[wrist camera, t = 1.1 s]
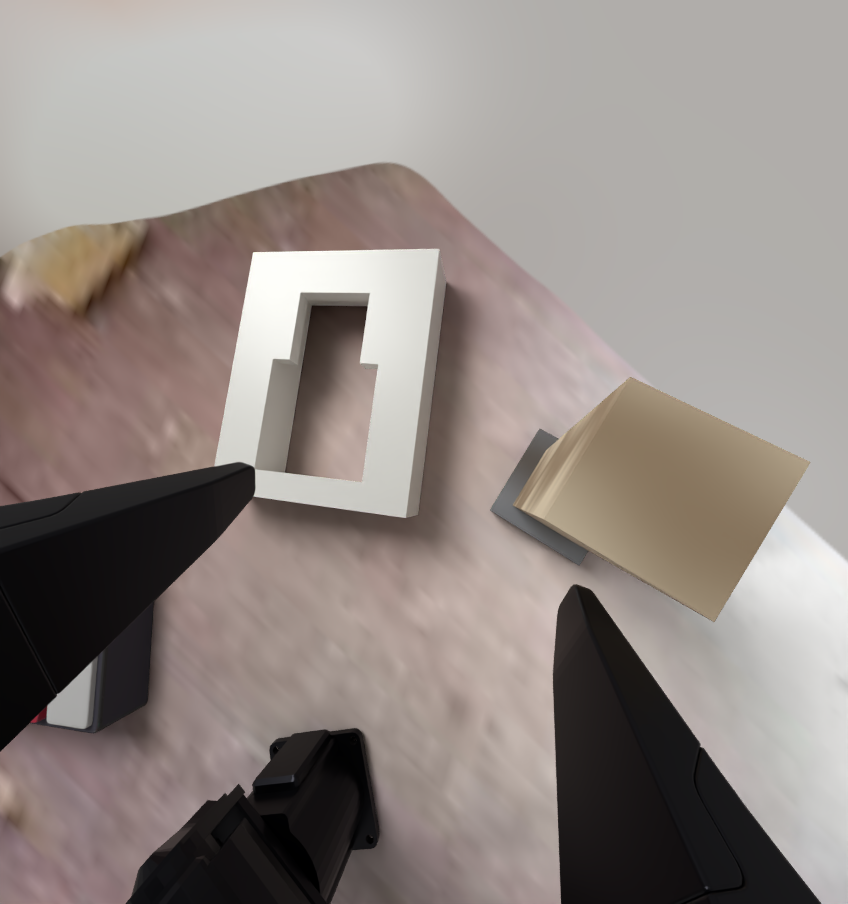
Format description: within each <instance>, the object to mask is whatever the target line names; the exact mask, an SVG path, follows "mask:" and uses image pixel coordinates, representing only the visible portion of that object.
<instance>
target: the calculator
mask: <svg viewBox="0 0 848 904" xmlns="http://www.w3.org/2000/svg"><path fill="white" fill-rule="evenodd" d="M153 605H154V602H153V603H152V604H151V605H150V606H149V607H148V608H147V609H146V610H145V611H144V612H142V613H141V614H140V615H139V616H138V617H137V618H136V619H135V620H134V621H133V622H132V623H131V624H130V625H129V626H128V627H127V628H126V629H125V630H124V631H123V632H122V633H121V634H120V635H119V636H118V637H117V638H116V639H115V640H114V641H113V642H112V643H111V644H110V645H109V646H108V647H107V648H106V649H105V650H104V651H103V652H102V653H100V654H99V655H98V656H97V657H96V658H95V659H94V660H93V661H92V662H91V663H90V664H89V665H88V666H87V667H86V668H85V669H84V670H83V671H82V672H81V673H80V674H79V675H78V676H77V677H76V678H75V679H74V680H73V681H72V682H71V683H70V684H69V685H68V686H67V687H66V688H65V689H64V690H63V691H62V692H61V693H59V694H57V697H56V698H55V699H54V700H53V701H52V702H51V703H50V704H49V705H48V706H47V707H45V708H44V709H43V710H42V711H41V712H40V713H39V714H38V715H37V716H36V717H35V718H34V719H33V720H32V721H31V722H30V723H32V724H38V725H45V726H51V727H57V728H63V729H69V730H75V731H82V732H88V733H96V732H98V731H100V730H102V729H104V728H105V727H107V726H109V725H111V724H112V723H114V722H116V721H118V720H119V719H121V718H123V717H125V716H126V715H128V714H130V713H132V712H133V711H135V710H137V709H139V708H140V707H142V706H144V705H145V704H146V703H147V699H148V684H149V669H150V653H151V637H152V621H153Z"/></svg>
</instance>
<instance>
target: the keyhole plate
mask: <svg viewBox="0 0 848 904" xmlns="http://www.w3.org/2000/svg"><path fill="white" fill-rule="evenodd" d="M445 289H446V277H445V272H444V268H443V263H442V259H441V254H440V249H406V250H354V251H302V252H253V257H252V263H251V268H250V274H249V279H248V285H247V290H246V296H245V301H244V307H243V312H242V318H241V323H240V329H239V334H238V340H237V345H236V351H235V356H234V362H233V367H232V373H231V378H230V384H229V389H228V395H227V400H226V406H225V411H224V417H223V422H222V428H221V433H220V439H219V444H218V450H217V455H216V461H215V466H220V465H225V464H230V463H235V462H243V463H246V464H249V465H251V466H253V467H254V469H255V486H256V489H255V494H254V496H253V497H260V498H268V499H275V500H282V501H289V502H296V503H303V504H310V505H317V506H324V507H331V508H338V509H346V510H353V511H360V512H367V513H374V514H381V515H388V516H395V517H402V518H408V517H412V516H416V515H418V512H419V504H420V496H421V487H422V479H423V471H424V463H425V454H426V446H427V438H428V430H429V421H430V413H431V405H432V397H433V388H434V380H435V372H436V364H437V355H438V347H439V339H440V331H441V322H442V314H443V306H444V298H445ZM312 305H317V306H368V310H367V317H366V324H365V331H364V337H363V344H362V351H361V358H360V364H361V365H362V366H363V367H364V368H365V369H378V370H377V378H376V385H375V392H374V399H373V406H372V414H371V421H370V428H369V435H368V443H367V450H366V457H365V464H364V471H363V479H362V482H357V481H349V480H341V479H332V478H324V477H316V476H308V475H300V474H292V473H285V469H286V463H287V457H288V451H289V444H290V438H291V432H292V426H293V419H294V413H295V407H296V401H297V395H298V388H299V382H300V376H301V370H302V364H303V357H304V351H305V345H306V339H307V333H308V326H309V320H310V314H311V308H312Z"/></svg>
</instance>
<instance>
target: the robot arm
mask: <svg viewBox="0 0 848 904" xmlns="http://www.w3.org/2000/svg"><path fill="white" fill-rule="evenodd" d="M255 489H256V486H255V469H254V467H253V466H251V465H249V464H246V463H243V462H235V463H230V464H225V465H220V466H214V467H209V468H204V469H199V470H193V471H188V472H183V473H178V474H173V475H167V476H162V477H157V478H152V479H147V480H141V481H136V482H131V483H126V484H120V485H115V486H110V487H105V488H100V489H94V490H89V491H84V492H82V493H80V492H78V493H73V494H68V495H63V496H58V497H52V498H46V499H41V500H35V501H30V502H24V503H17V504H11V505H5V506H0V751H1V750H2V749H3V748H4V747H5V746H7V745H8V744H9V743H10V742H11V741H12V740H13V739H14V738H15V737H16V736H17V735H18V734H19V733H20V732H21V731H22V730H23V729H24V728H25V727H26V726H27V725H28V724H29V723H30V722H31V721H32V720H33V719H34V718H35V717H36V716H37V715H38V714H39V713H40V712H41V711H42V710H43V709H44V708H45V707H47V706H48V705H49V704H50V703H51V702H52V701H53V700H54V699H55V698H56V697H57V694H59V693H61V692H62V691H63V690H64V689H65V688H66V687H67V686H68V685H69V684H70V683H71V682H72V681H73V680H74V679H75V678H76V677H77V676H78V675H79V674H80V673H81V672H82V671H83V670H84V669H85V668H86V667H87V666H88V665H89V664H90V663H91V662H92V661H93V660H94V659H95V658H96V657H97V656H98V655H99V654H100V653H102V652H103V651H104V650H105V649H106V648H107V647H108V646H109V645H110V644H111V643H112V642H113V641H114V640H115V639H116V638H117V637H118V636H119V635H120V634H121V633H122V632H123V631H124V630H125V629H126V628H127V627H128V626H129V625H130V624H131V623H132V622H133V621H134V620H135V619H136V618H137V617H138V616H139V615H140V614H141V613H142V612H144V611H145V610H146V609H147V608H148V607H149V606H150V605H151V604H152V603H153V602H154V601H155V600H156V599H157V598H158V597H159V596H160V595H161V594H162V593H163V592H164V591H165V590H166V589H167V588H168V587H169V586H170V585H171V584H172V583H173V582H174V581H175V580H176V579H177V578H178V577H179V576H180V575H181V574H182V573H183V572H185V571H186V570H187V569H188V568H189V567H190V566H191V565H192V564H193V563H194V562H195V561H196V560H197V559H198V558H199V557H200V556H201V555H202V554H203V553H204V552H205V551H206V550H207V549H208V548H209V547H210V546H211V545H212V544H213V543H214V542H215V541H216V540H217V539H218V538H219V537H220V536H221V535H222V533H223V532H224V531H225V530H226V529H227V528H228V526H229V525H230V524H231V523H232V522H233V520H234V519H235V518H236V517H237V516H238V514H239V513H240V512H241V511H242V510H243V509H244V507H245V506H246V505H247V504H248V503H249V501H250V500H251V499H252V498H253V496H254V494H255ZM553 696H554V723H555V750H556V777H557V804H558V831H559V859H560V886H561V904H821V902H820V901H819V900H818V899H817V897H816V896H815V895H814V894H813V892H812V891H811V890H810V888H809V887H808V886H807V885H806V883H805V882H804V881H803V880H802V878H801V877H800V876H799V874H798V873H797V872H796V871H795V869H794V868H793V867H792V866H791V864H790V863H789V862H788V860H787V859H786V858H785V857H784V855H783V854H782V853H781V852H780V850H779V849H778V848H777V846H776V845H775V844H774V843H773V841H772V840H771V839H770V837H769V836H768V835H767V833H766V832H765V831H764V830H763V828H762V827H761V826H760V824H759V823H758V822H757V820H756V819H755V818H754V816H753V815H752V814H751V813H750V811H749V810H748V809H747V807H746V806H745V805H744V803H743V802H742V801H741V799H740V798H739V796H738V795H737V794H736V792H735V791H734V790H733V788H732V787H731V785H730V784H729V783H728V781H727V780H726V779H725V777H724V776H723V775H722V773H721V772H720V770H719V769H718V768H717V766H716V765H715V763H714V762H713V761H712V759H711V758H710V756H709V755H708V753H707V752H706V751H705V749H704V748H702V747H700V742H699V741H698V740H697V738H696V737H695V735H694V734H693V733H692V731H691V730H690V728H689V727H688V725H687V724H686V723H685V721H684V720H683V718H682V717H681V716H680V714H679V713H678V711H677V710H676V709H675V707H674V706H673V704H672V703H671V701H670V700H669V699H668V697H667V696H666V694H665V693H664V692H663V690H662V689H661V687H660V686H659V685H658V683H657V682H656V680H655V679H654V677H653V676H652V675H651V673H650V672H649V670H648V669H647V668H646V666H645V665H644V663H643V662H642V661H641V659H640V658H639V656H638V655H637V653H636V652H635V651H634V649H633V648H632V646H631V645H630V644H629V642H628V641H627V639H626V638H625V637H624V635H623V634H622V632H621V631H620V629H619V628H618V627H617V625H616V624H615V622H614V621H613V620H612V618H611V617H610V615H609V614H608V613H607V611H606V610H605V608H604V607H603V605H602V604H601V603H600V601H599V600H598V598H597V597H596V596H595V594H594V593H593V592H592V591H591V590H590V589H588V588H585V587H583V586H580V585H577V584H575V585H573V586H571V588H570V589H569V591H568V593H567V594H566V596H565V597H564V599H563V601H562V602H561V604H560V606H559V609H558V614H557V626H556V639H555V652H554V665H553ZM352 737H355V738H356V740H357V741H354V740H353V739H352ZM277 747H278V748H279V750H278V749H277ZM270 759H271V761H270V762H269V763H268V764H267V766H266V767H265V768H264V769H263V770H262V772H261V773H260V774H259V775H258V776H257V777H256V779H255V781H254V782H253V784H252V786H253V791H252V792H251V794H250V795H249V796H248V797H247V798H246V797H245V796H244V793H245V791H244V790H243V789H242V787H241V786H240V785H239V784H238V785H237V786H236V787H235V788H234V790H233V791H232V792H231V793H230V794H229V795H228V796H227V794H226V793H225V794H224V795H223V796H222V797H221V798H220V799H219V800H218V801H210V800H208V801H207V802H206V803H205V804H204V805H203V806H202V807H201V808H200V809H199V810H198V811H197V812H196V813H195V814H194V816H193V817H192V818H191V819H190V820H189V821H188V822H187V823H186V824H185V825H184V826H183V827H182V828H181V829H180V830H179V831H178V832H177V833H176V834H174V835H173V836H172V837H171V838H170V839H169V840H167V841H166V842H165V843H164V844H163V845H162V846H161V847H159V848H158V849H157V850H156V851H155V852H154V853H153V854H152V855H151V856H150V857H149V858H148V859H147V860H146V861H145V863H144V864H143V865H142V866H141V867H140V868H139V870H138V874H137V878H136V881H135V885H134V889H133V892H132V896H131V898H130V899H129V900H128V901H127V903H126V904H330V903H331V901H332V898H333V896H334V893H335V891H336V888H337V886H338V883H339V881H340V878H341V876H342V873H343V871H344V868H345V866H346V863H347V861H348V858H349V856H350V853H351V851H352V850H360V849H372V848H374V847H375V846H376V845H377V842H378V839H379V827H378V821H377V816H376V810H375V804H374V799H373V793H372V787H371V782H370V776H369V770H368V764H367V759H366V753H365V747H364V742H363V736H362V733H361V732H360V730H358V729H355V728H353V729H345V730H338V731H328V730H318V731H310V732H303V733H296V734H293V735H292V736H291V737H285V738H278V739H276V740H275V741H274V742H273V743H272V745H271V746H270ZM369 835H372V836H373V838H371V837H370V836H369Z"/></svg>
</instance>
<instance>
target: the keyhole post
mask: <svg viewBox="0 0 848 904" xmlns="http://www.w3.org/2000/svg"><path fill="white" fill-rule="evenodd" d="M809 464H810V462H809V461H807V460H805V459H802V458H800V457H798V456H796V455H794V454H792V453H790V452H788V451H785V450H784V449H781V448H779V447H777V446H775V445H773V444H771V443H769V442H767V441H765V440H762V439H760V438H758V437H756V436H754V435H752V434H750V433H748V432H745V431H743V430H741V429H739V428H737V427H735V426H733V425H731V424H729V423H727V422H724V421H722V420H720V419H718V418H716V417H714V416H712V415H710V414H708V413H706V412H703V411H701V410H699V409H697V408H695V407H693V406H691V405H689V404H686V403H684V402H682V401H680V400H678V399H676V398H674V397H672V396H670V395H668V394H666V393H663V392H661V391H659V390H657V389H655V388H653V387H651V386H649V385H647V384H644V383H642V382H640V381H638V380H636V379H634V378H632V377H630V378H629V379H627V380H626V381H625V382H624V383H623V384H622V385H621V386H619V387H618V388H617V389H616V390H615V391H614V392H612V393H611V394H610V395H609V396H608V397H607V398H606V399H604V400H603V401H602V402H601V403H600V404H599V405H598V406H596V407H595V408H594V409H593V410H592V411H591V412H589V413H588V414H587V415H586V416H585V417H584V418H583V419H581V420H580V421H579V422H578V423H577V424H576V425H575V426H573V427H572V428H571V429H570V430H569V431H568V432H566V433H565V434H564V435H563V436H562V437H561V438H560V439H558V438H556V437H554V436H553V435H551V434H549V433H547V432H545V431H543V430H541V429H539V430H538V432H537V434H536V435H535V437H534V438H533V440H532V442H531V443H530V445H529V447H528V448H527V450H526V452H525V453H524V455H523V457H522V458H521V460H520V462H519V463H518V465H517V466H516V468H515V470H514V471H513V473H512V475H511V476H510V478H509V480H508V481H507V483H506V485H505V486H504V488H503V489H502V491H501V493H500V494H499V496H498V498H497V499H496V501H495V503H494V504H493V506H492V508H491V509H490V511H492V512H494V513H495V514H497V515H499V516H500V517H502V518H503V519H505V520H507V521H508V522H510V523H511V524H513V525H515V526H516V527H518V528H519V529H521V530H523V531H524V532H526V533H528V534H529V535H531V536H532V537H534V538H536V539H537V540H539V541H540V542H542V543H544V544H545V545H547V546H548V547H550V548H552V549H553V550H555V551H556V552H558V553H560V554H561V555H563V556H565V557H566V558H568V559H569V560H571V561H573V562H574V563H576V564H577V565H580V564H581V562H582V560H583V559H584V557H585V556H586V554H587V552H588V551H590V552H592V553H593V554H595V555H597V556H599V557H600V558H602V559H604V560H606V561H607V562H609V563H611V564H613V565H614V566H616V567H618V568H620V569H621V570H623V571H625V572H627V573H629V574H630V575H632V576H634V577H636V578H637V579H639V580H641V581H643V582H644V583H646V584H648V585H650V586H651V587H653V588H655V589H657V590H658V591H660V592H662V593H664V594H666V595H667V596H669V597H671V598H673V599H674V600H676V601H678V602H680V603H681V604H683V605H685V606H687V607H688V608H690V609H692V610H694V611H695V612H697V613H699V614H701V615H702V616H704V617H706V618H708V619H710V620H711V621H713V622H715V620H716V618H717V617H718V615H719V613H720V612H721V610H722V608H723V607H724V605H725V603H726V602H727V600H728V598H729V597H730V595H731V594H732V592H733V590H734V589H735V587H736V585H737V584H738V582H739V580H740V579H741V577H742V575H743V574H744V572H745V570H746V569H747V567H748V565H749V564H750V562H751V560H752V559H753V557H754V555H755V554H756V552H757V550H758V549H759V547H760V545H761V544H762V542H763V540H764V539H765V537H766V535H767V534H768V532H769V530H770V529H771V527H772V525H773V524H774V522H775V520H776V519H777V517H778V516H779V514H780V512H781V511H782V509H783V507H784V506H785V504H786V502H787V501H788V499H789V497H790V496H791V494H792V492H793V491H794V489H795V487H796V486H797V484H798V482H799V481H800V479H801V477H802V476H803V474H804V472H805V471H806V469H807V467H808V465H809Z"/></svg>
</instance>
